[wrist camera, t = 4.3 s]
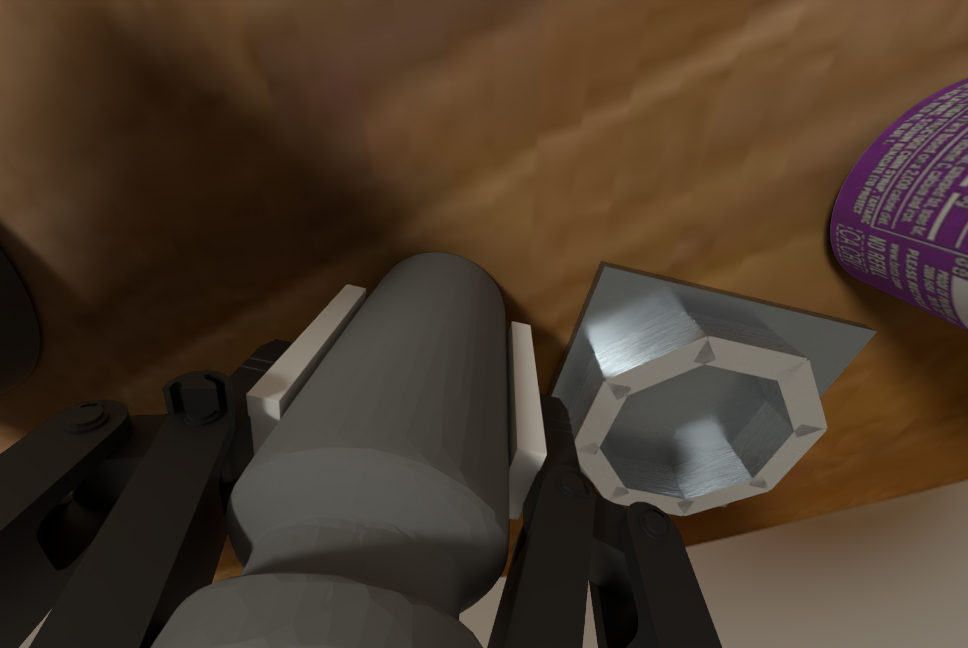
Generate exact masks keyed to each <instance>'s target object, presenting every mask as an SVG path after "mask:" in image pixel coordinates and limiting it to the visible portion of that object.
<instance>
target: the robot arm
mask: <svg viewBox="0 0 968 648" xmlns="http://www.w3.org/2000/svg"><path fill="white" fill-rule="evenodd" d="M365 300H366V288H362V287H357V286H353V285H348V284H347V285H346V286H345V287H344V288H343V289H342V290H341V291H340V292H339V293H338V294H337V296H336V297H335V298H334V299H333V300H332V301H331V302H330V303H329V304H328V305H327V307H326V308H325V309H324V310H323V311H322V312H321V313H320V314H319V315H318V316H317V317H316V319H315V320H314V321H313V322H312V323H311V324H310V325H309V326H308V327H307V328H306V330H305V331H304V332H303V333H302V334H301V335H300V336H299V337H298V338H297V339H296V341H295V342H294V343H291V342H286V341H281V340H277V339H276V340H274V341H271V342H269V343H267V344H265V345H263V346H261V347H260V348H259V349H258V350H256V351H255V352H254V353H253V354H252V355H251V356H250V359H247V360H246V361H245V362H244V363H243V364H242V366H241V367H239V368H238V369H237V370H236V371H235V372H234V373H233V374H232V375H231V376H230V377H228V376H227V375H225V374H223V373H220V372H216V371H209V370H205V371H194V372H190V373H187V374H183V375H180V376H178V377H176V378H174V379H172V380H170V381H169V382H168V383H167V384H166V385H165V386H164V387H163V388H162V389H163V393H164V398H165V402H166V406H167V410H168V414H162V415H139V416H130V415H129V412H128V409H127V408H126V407H125V405H124V404H123V403H120V402H117V401H114V400H94V401H88V402H83V403H80V404H77V405H74V406H71V407H68V408H66V409H64V410H62V411H61V412H59V413H57V414H55V415H54V416H52V417H51V418H49V419H48V420H47V421H45V422H44V423H43V424H41V425H40V426H38V427H37V428H36V429H34V430H33V431H31V432H30V433H29V434H27V435H26V436H25V437H23V438H22V439H20V440H19V441H18V442H16V443H15V444H14V445H12V446H11V447H9V448H8V449H7V450H5V451H4V452H2V453H1V454H0V648H19V647H20V645H21V644H22V643H23V642H24V641H25V640H26V638H27V637H28V636H29V635H30V634H31V633H32V631H33V630H34V629H35V628H36V627H37V625H38V624H39V623H40V622H41V621H42V620H43V618H44V617H45V616H46V615H47V614H48V612H49V611H50V610H51V609H52V610H51V612H50V613H49V615H48V617H47V618H46V620H45V622H44V623H43V625H42V627H41V628H40V630H39V632H38V633H37V635H36V637H35V638H34V640H33V642H32V643H31V645H30V647H29V648H150V647H151V646H152V644H153V643H154V641H155V640H156V638H157V637H158V635H159V634H160V632H161V631H162V630H163V628H164V627H165V625H166V624H167V622H168V621H169V619H170V618H171V616H172V615H173V613H174V612H175V610H176V609H177V607H178V606H179V605H180V604H181V603H182V602H183V601H184V600H185V599H186V598H187V597H189V596H190V595H192V594H193V593H195V592H196V591H197V590H199V589H201V588H204V587H206V586H208V585H210V584H212V581H213V578H214V575H215V571H216V568H217V565H218V562H219V559H220V556H221V552H222V549H223V546H224V543H225V540H226V537H227V533H228V529H227V522H226V511H227V505H228V501H229V498H230V495H231V493H232V491H233V488H234V486H235V484H236V483H237V481H238V480H239V478H240V477H241V475H242V473H243V470H244V469H245V468H246V466H247V465H248V463H249V462H250V461H251V459H252V458H253V457H254V456H255V455H256V453H257V452H258V450H259V449H260V447H261V446H262V445H263V443H264V442H265V440H266V439H267V437H268V436H269V435H270V433H271V432H272V430H273V429H274V428H275V426H276V425H277V423H278V422H279V420H280V419H281V418H282V416H283V415H284V413H285V412H286V411H287V409H288V408H289V406H290V405H291V404H292V402H293V401H294V399H295V398H296V397H297V395H298V394H299V392H300V391H301V390H302V388H303V387H304V385H305V384H306V383H307V381H308V380H309V379H310V377H311V376H312V374H313V373H314V372H315V370H316V369H317V367H318V366H319V365H320V363H321V362H322V360H323V359H324V358H325V356H326V355H327V354H328V352H329V351H330V349H331V348H332V347H333V345H334V344H335V342H336V341H337V340H338V338H339V337H340V336H341V334H342V333H343V331H344V330H345V329H346V327H347V326H348V324H349V323H350V322H351V320H352V319H353V317H354V316H355V315H356V313H357V312H358V311H359V309H360V308H361V307H362V305H363V304H364V303H365ZM506 344H507V382H508V434H509V519H515V520H518V518H519V516H520V514H521V511H522V509H523V521H524V524H523V526H522V529H521V531H520V533H519V535H518V537H517V539H516V542H515V544H514V546H513V548H512V550H513V551H514V554H513V557H512V561H511V564H510V568H509V572H508V575H507V579H506V582H505V586H504V589H503V593H502V597H501V600H500V604H499V607H498V611H497V615H496V619H495V622H494V625H493V629H492V633H491V636H490V640H489V644H488V647H487V648H582V646H583V635H584V624H585V612H586V600H587V589H588V580H589V585H590V592H591V598H592V606H593V614H594V621H595V628H596V636H597V643H598V648H722V646H721V643H720V640H719V638H718V635H717V632H716V630H715V627H714V624H713V622H712V619H711V616H710V614H709V611H708V608H707V605H706V603H705V600H704V597H703V595H702V592H701V589H700V587H699V584H698V581H697V579H696V576H695V573H694V570H693V568H692V565H691V562H690V560H689V557H688V554H687V552H686V549H685V546H684V544H683V541H682V538H681V535H680V533H679V531H678V529H677V527H676V525H675V523H674V522H673V521H672V520H671V518H670V517H669V516H668V515H667V514H666V513H665V512H664V511H662V510H661V509H659V508H658V507H657V506H655V505H652V504H650V503H647V502H639V501H637V502H634V503H632V504H630V505H629V507H628V508H627V509H626V508H624V507H622V506H620V505H618V504H616V503H614V502H612V501H610V500H607V499H606V498H604V497H602V496H601V495H599V494H598V493H597V492H595V488H594V486H593V485H592V483H591V481H590V479H589V478H588V477H587V476H586V475H585V474H584V473H583V472H581V469H580V464H579V459H578V455H577V450H576V446H575V441H574V437H573V434H572V427H571V424H570V418H569V414H568V410H567V408H566V407H565V405H564V404H563V402H562V401H561V400H560V398H557V397H552V396H547V395H542V394H539V389H538V381H537V373H536V365H535V358H534V350H533V342H532V335H531V327H530V325H527V324H522V323H518V322H513V321H512V323H511V326H510V329H509V332H508V336H507V339H506ZM39 350H40V334H39V327H38V322H37V318H36V315H35V312H34V309H33V306H32V303H31V301H30V299H29V296H28V294H27V292H26V290H25V288H24V286H23V284H22V282H21V280H20V279H19V277H18V275H17V273H16V272H15V270H14V268H13V267H12V265H11V264H10V262H9V261H8V260H7V258H6V257H5V255H4V254H3V252H2V251H1V250H0V395H2V394H4V393H6V392H7V391H9V390H11V389H13V388H14V387H16V386H18V385H19V384H21V383H22V382H23V381H24V380H25V379H26V378H27V377H28V376H29V375H30V374H31V372H32V371H33V369H34V367H35V365H36V362H37V359H38V356H39Z"/></svg>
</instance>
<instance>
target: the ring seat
mask: <svg viewBox="0 0 968 648" xmlns="http://www.w3.org/2000/svg"><path fill="white" fill-rule="evenodd" d="M876 332H877V331H875V330H874V329H872V328H870V327H868V326H867V325H865V324H861V323H857V322H852V321H848V320H844V319H840V318H836V317H832V316H827V315H823V314H819V313H815V312H811V311H807V310H802V309H798V308H794V307H790V306H786V305H782V304H777V303H773V302H769V301H765V300H761V299H757V298H753V297H748V296H744V295H740V294H736V293H732V292H728V291H723V290H719V289H715V288H711V287H707V286H703V285H698V284H694V283H690V282H686V281H682V280H678V279H673V278H669V277H665V276H661V275H657V274H653V273H649V272H644V271H640V270H636V269H632V268H628V267H624V266H619V265H615V264H611V263H607V262H603V261H601V263H600V266H599V268H598V271H597V273H596V275H595V278H594V280H593V283H592V285H591V288H590V290H589V293H588V295H587V298H586V300H585V303H584V305H583V308H582V310H581V313H580V315H579V318H578V320H577V323H576V325H575V328H574V330H573V333H572V335H571V338H570V340H569V342H568V345H567V347H566V350H565V352H564V355H563V357H562V360H561V362H560V365H559V367H558V370H557V372H556V375H555V377H554V380H553V382H552V385H551V387H550V390H549V392H548V395H547V396H552V397H557V398H560V400H561V401H562V402H563V404H564V405H565V407H566V408H567V410H568V414H569V418H570V424H571V427H572V434H573V437H574V441H575V446H576V450H577V455H578V459H579V464H580V469H581V472H583V473H584V474H585V475H586V476H587V477H588V478H589V479H590V481H592V482H593V483H594V485H595V486H596V488H597V489H598V490H599V492H600V493H601V495H602V496H603V497H604V498H606V499H607V500H610V501H612V502H614V503H616V504H621V505H626V506H629V505H630V504H632V503H634V502H637V501H639V502H647V503H650V504H652V505H655V506H657V507H658V508H659V509H661V510H662V511H664V512H665V513H668V514H673V515H678V516H683V515H684V516H687V515H691V514H694V513H697V512H701V511H704V510H707V509H711V508H714V507H717V506H720V507H726V506H727V505H728V503H731V502H734V501H737V500H741V499H744V498H747V497H751V496H754V495H757V494H761V493H764V492H767V491H769V490H771V489H772V488H773V487H774V486H775V485H776V484H777V483H778V482H779V481H780V480H781V479H782V478H783V476H784V475H785V474H786V473H787V472H788V471H789V470H790V469H791V468H792V467H793V466H794V465H795V464H796V462H797V461H798V460H799V459H800V458H801V457H802V456H803V455H804V454H805V453H806V452H807V451H808V449H809V448H810V447H811V446H812V445H813V444H814V443H815V442H816V441H817V440H818V439H819V438H820V437H821V435H822V434H823V433H824V432H825V431H826V430H827V429H826V428H827V424H826V420H825V416H824V413H823V409H822V405H821V402H820V397H821V396H822V395H823V394H824V392H825V391H826V390H827V389H828V388H829V387H830V385H831V384H832V383H833V382H834V381H835V380H836V378H837V377H838V376H839V375H840V374H841V373H842V372H843V370H844V369H845V368H846V367H847V366H848V365H849V363H850V362H851V361H852V360H853V359H854V358H855V357H856V355H857V354H858V353H859V352H860V351H861V350H862V348H863V347H864V346H865V345H866V344H867V343H868V341H869V340H870V339H871V338H872V337H873V336H874V335H875V333H876Z"/></svg>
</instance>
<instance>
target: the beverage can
mask: <svg viewBox="0 0 968 648" xmlns="http://www.w3.org/2000/svg"><path fill="white" fill-rule="evenodd" d="M830 237H831V244H832V249H833V252H834V254H835V257H836V259H837V261H838V262H839V264H840V265H841V266H842V268H843V269H844V270H845V271H846V272H847V273H848V274H850V275H851V276H852V277H854V278H856V279H857V280H859V281H861V282H864V283H866V284H868V285H870V286H872V287H874V288H877V289H879V290H881V291H883V292H885V293H887V294H889V295H892V296H894V297H896V298H898V299H900V300H902V301H904V302H907V303H909V304H911V305H913V306H915V307H917V308H920V309H922V310H924V311H926V312H928V313H930V314H932V315H935V316H937V317H939V318H941V319H943V320H945V321H948V322H950V323H952V324H954V325H956V326H958V327H960V328H963V329H965V330H967V331H968V78H967V79H964V80H961V81H959V82H956V83H954V84H952V85H950V86H948V87H945V88H944V89H942V90H940V91H938V92H936V93H934V94H932V95H931V96H929V97H927V98H926V99H924V100H922V101H921V102H919V103H918V104H916V105H915V106H913V107H912V108H911V109H909V110H908V111H907V112H905V113H904V114H903V115H901V116H900V117H899V118H898V119H896V120H895V121H894V122H893V123H892V124H891V125H889V126H888V127H887V128H886V129H885V130H884V131H883V132H882V133H881V134H880V135H879V136H878V137H877V138H876V139H875V140H874V141H873V142H872V143H871V145H870V146H869V147H868V148H867V149H866V150H865V152H864V153H863V154H862V155H861V157H860V158H859V159H858V161H857V162H856V163H855V165H854V167H853V168H852V170H851V171H850V173H849V174H848V176H847V178H846V180H845V181H844V183H843V185H842V187H841V189H840V192H839V194H838V197H837V199H836V202H835V205H834V209H833V213H832V218H831V226H830Z"/></svg>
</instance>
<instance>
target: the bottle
mask: <svg viewBox="0 0 968 648" xmlns="http://www.w3.org/2000/svg"><path fill="white" fill-rule="evenodd" d="M226 522H227V529H228V534H229V538H230V540H231V543H232V546H233V549H234V551H235V553H236V556H237V558H238V559H239V561H240V562H241V564H242V566H243V567H244V570H243V572H242V573H241V575H240V576H235V577H230V578H227V579H223V580H220V581H217V582H215V583H212V584H210V585H208V586H206V587H204V588H201V589H199V590H197V591H196V592H195V593H193V594H192V595H190V596H189V597H187V598H186V599H185V600H184V601H183V602H182V603H181V604H180V605H179V606H178V607H177V609H176V610H175V612H174V613H173V615H172V616H171V618H170V619H169V621H168V622H167V624H166V625H165V627H164V628H163V630H162V631H161V632H160V634H159V635H158V637H157V638H156V640H155V641H154V643H153V644H152V646H151V647H150V648H483V647H482V645H481V644H480V643H479V641H478V640H477V638H476V637H475V635H474V634H473V632H471V631H470V630H469V629H468V628H467V627H466V626H465V625H464V624H462V623H461V622H460V621H459V614H460V613H461V612H463V611H464V610H466V609H468V608H469V607H471V606H472V605H474V604H475V603H476V602H478V601H479V600H480V599H481V598H482V597H483V596H484V595H486V594H487V593H488V592H489V591H490V590H491V588H492V587H493V586H494V584H495V583H496V582H497V580H498V579H499V577H500V576H501V574H502V573H503V571H504V568H505V565H506V562H507V556H508V548H509V530H510V521H509V434H508V382H507V344H506V318H505V307H504V302H503V299H502V296H501V293H500V291H499V289H498V287H497V285H496V284H495V282H494V281H493V279H492V278H491V277H490V276H489V275H488V274H487V273H486V272H485V271H484V270H483V269H482V268H480V267H479V266H478V265H476V264H475V263H473V262H471V261H469V260H468V259H466V258H463V257H460V256H457V255H454V254H449V253H443V252H429V253H422V254H417V255H414V256H411V257H409V258H407V259H405V260H403V261H401V262H399V263H398V264H397V265H395V266H394V267H393V268H392V269H391V270H390V271H389V272H388V273H387V274H386V275H385V276H384V277H383V279H382V280H381V281H380V283H379V284H378V285H377V287H376V288H375V289H374V291H373V292H372V293H371V295H370V296H369V297H368V299H367V300H366V301H365V303H364V304H363V305H362V307H361V308H360V309H359V311H358V312H357V313H356V315H355V316H354V317H353V319H352V320H351V322H350V323H349V324H348V326H347V327H346V329H345V330H344V331H343V333H342V334H341V336H340V337H339V338H338V340H337V341H336V342H335V344H334V345H333V347H332V348H331V349H330V351H329V352H328V354H327V355H326V356H325V358H324V359H323V360H322V362H321V363H320V365H319V366H318V367H317V369H316V370H315V372H314V373H313V374H312V376H311V377H310V379H309V380H308V381H307V383H306V384H305V385H304V387H303V388H302V390H301V391H300V392H299V394H298V395H297V397H296V398H295V399H294V401H293V402H292V404H291V405H290V406H289V408H288V409H287V411H286V412H285V413H284V415H283V416H282V418H281V419H280V420H279V422H278V423H277V425H276V426H275V428H274V429H273V430H272V432H271V433H270V435H269V436H268V437H267V439H266V440H265V442H264V443H263V445H262V446H261V447H260V449H259V450H258V452H257V453H256V455H255V456H254V457H253V459H252V460H251V462H250V463H249V464H248V466H247V467H246V469H245V470H244V472H243V473H242V475H241V477H240V478H239V480H238V481H237V483H236V484H235V486H234V488H233V491H232V493H231V495H230V498H229V501H228V505H227V511H226Z"/></svg>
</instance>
